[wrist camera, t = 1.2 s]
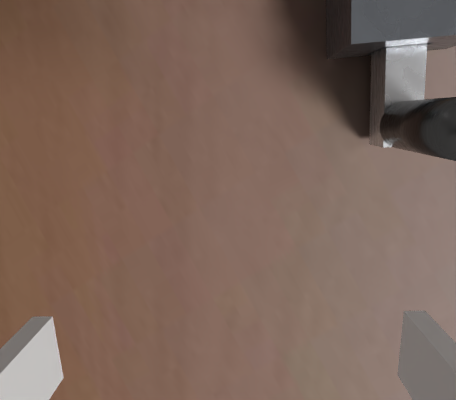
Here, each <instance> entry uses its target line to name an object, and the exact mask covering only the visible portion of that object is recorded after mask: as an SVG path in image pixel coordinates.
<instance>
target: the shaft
mask: <svg viewBox="0 0 456 400" xmlns="http://www.w3.org/2000/svg"><path fill="white" fill-rule="evenodd" d="M426 56H427V43H423V44H411V45H400V46H388V47H382V48H380V49H378V50H376V51H374V52H371V93H370V141H369V144H370V145H374V146H379V147H383V148H384V147H395V148H399V149H403V150H408V151H413V152H417V153H422V154H426V155H431V156H435V157H440V158H445V159H449V160H454V161H456V97H450V98H437V99H424V91H425V73H426Z"/></svg>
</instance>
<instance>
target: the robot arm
mask: <svg viewBox="0 0 456 400" xmlns="http://www.w3.org/2000/svg"><path fill="white" fill-rule="evenodd" d="M398 376H399V378H400V380H401V381H402V383H403V385H404V386H405V388H406V389H407V391H408V393H409V394H410V396H411V398H412V399H413V400H456V343H455V342H454V341H453V340H452V338H451V337H450V336H449V335H448V334H447V333H446V332H445V331H444V330H443V329H442V328H441V327H440V326H439V325H438V324H437V323H436V322H435V321H434V320H433V318H432V317H431V316H430V315H429V314H428V313H427V312H426V311H404V315H403V325H402V335H401V345H400V355H399V365H398ZM62 379H63V373H62V367H61V361H60V356H59V350H58V345H57V339H56V333H55V328H54V322H53V317H32V318H31V319H30V320H29V321H28V322H27V323H26V324H25V325H24V326H23V327H22V328H21V329H20V330H19V331H18V332H17V333H16V334H15V335H14V336H13V337H12V338H11V339H10V340H9V341H8V342H7V343H6V344H5V345H4V346H3V347H2V348H1V349H0V400H49V399H50V397H51V396H52V394H53V393H54V391H55V390H56V388H57V387H58V385H59V384H60V382H61V381H62Z"/></svg>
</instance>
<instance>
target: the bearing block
mask: <svg viewBox="0 0 456 400" xmlns="http://www.w3.org/2000/svg"><path fill="white" fill-rule="evenodd" d="M423 43H427V50H438V49H446V48H450V47H453V46H456V0H326V53H327V59H334V58H346V57H357V56H369V55H371V52H374V51H376V50H378V49H380V48H382V47H388V46H400V45H411V44H423Z"/></svg>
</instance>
